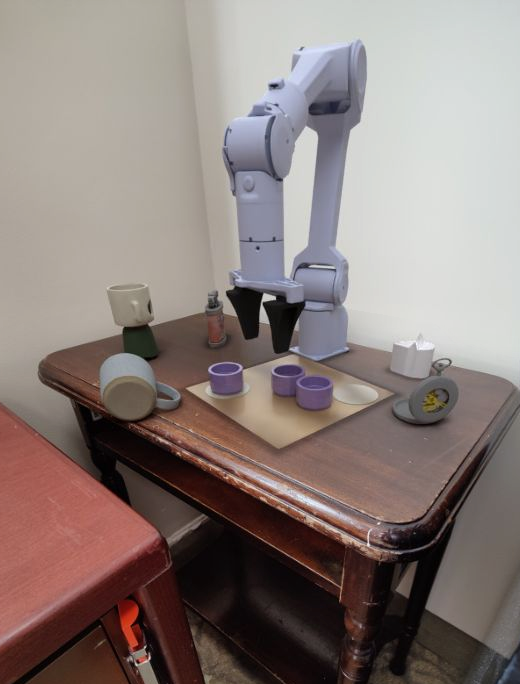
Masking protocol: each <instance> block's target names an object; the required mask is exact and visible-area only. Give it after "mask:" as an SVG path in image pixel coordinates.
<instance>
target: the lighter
mask: <svg viewBox="0 0 520 684" xmlns="http://www.w3.org/2000/svg"><path fill="white" fill-rule="evenodd" d="M218 298H219V291H218V289H212V291H211V292H208V293H207V303H206V305H205V306H204V313H205V314H206V321H207V329H208V338H209V339H208V346H209V347H210V348H212V349H213V348H218V347H219V348H220V347H221V346H224V345H225V344H226V342H227V334H226V330H225V313H224V301H223V300H218Z"/></svg>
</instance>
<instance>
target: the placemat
mask: <svg viewBox="0 0 520 684" xmlns="http://www.w3.org/2000/svg"><path fill="white" fill-rule="evenodd" d="M282 364H295V365H300V366H302V367H304V368H305V370H306V376H308V375H321V376H326V377H328V378H330V379H331V380H332V381H333V400H332V403H331V405H330V407H329V408H327V409H325V410H322V411H308V410H304V409H302V408H301V407H299V405H298V403H297V402H296V397H290V398H287V397H280V396H277V395H275V394H274V392H273V390H272V389H271V369H272V368H273V367H275V366H278V365H282ZM243 377H244V387H243V389H242V391H240V392H239V393H237V394H233V395H218V394H215V393H214V392H213V391H212V390H211V388H210V383H209V380H206V381H204V382H201V383H197V384H194V385H191V386H188V387H185V389H186V390H187V391H188V392H190V393H191V394H193V395H194V396H196V397H197V398H199V399H201V400H202V401H204V402H205V403H206V404H208V405H210V406H211V407H212V408H214V409H216V410H217V411H219V412H221V413H222V414H223V415H224V416H226V417H228V418H229V419H231V420H232V421H234V422H236V423H237V424H239V425H240V426H241V427H243V428H244V429H246V430H247V431H249V432H250V433H252V434H254V436H257V437H258V438H259V439H261V440H263V441H265V442H266V443H268V444H269V445H271V446H272V447H273V448H275V449H277V450H278V451H279V450H281V449H283V448H285V447H287V446H289V445H291V444H293V443H295V442H297V441H300V440H302V439H303V438H306V437H308V436H310V435H312V434H314V433H316V432H319V431H320V430H323V429H325V428H327V427H329V426H332V425H333V424H335V423H337V422H339V421H341V420H344V419H346V418H347V417H350V416H352V415H353V414H356V413H358V412H360V411H362V410H364V409H367V408H368V407H370V406H372V405H375V404H377V403H379V402H381V401H383V400H385V399H388V398H389V397H392V396H394V395H396V393H395V392H392V391H390V390H388V389H385V388H382V387H380V386H377V385H376V384H372V383H370V382H368V381H365V380H362V379H360V378H357V377H355V376H352V375H350V374H347V373H345V372H343V371H339V370H337V369H336V368H335V369H334V368H332V367H329V366H328V365H325V364H322V363H320V362H318V361H313V360H310V359H308V358H305V357H303V356H300V355H297V354H295V353H292V354H289V355H286V356H283V357H280V358H276V359H274V360H270V361H267V362H264V363H261V364H257V365H254V366H252V367H248V368H245V369H243Z"/></svg>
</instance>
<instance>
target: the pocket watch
mask: <svg viewBox="0 0 520 684" xmlns="http://www.w3.org/2000/svg"><path fill="white" fill-rule="evenodd" d="M440 361H448V362H449V363H448V364H447V365H445V366H444V364H443V363H442V362H440ZM438 362H440V363H438ZM436 363H438V365H437V366H435V364H436ZM452 364H453V360H452V359H451V358H448V357H443V358H438V359H436V360H435V361H433V362H432V364H431V368H432V369H434V370H435V371H436V374H434V375H429V376H428V377H426V378H423V380H420V382H419V383H418V384H417V385H416V386H415V387H414V388H413V390H412V391H411V392H410V393H411V394H410V395H409V398H402V399H400V400H397V401H396V402H394V403H393V405H392V412H393V414H394V416H396V417H397V418H398V419H400V420H402V421H404V422H407V423H411V424H415V425H429V424H432V423H433V424H434V423H435V422H438V421H439V420H442V419H444V418H445V417H447V416H448V415H450V413H451V412H452V411H453V409H455V406H456V405H457V402H458V400H459V396H460V395H459V392H460V391H459V387H458V385H457V383H456V381H455V380H453V378H452V377H450V376H449V375H445V374H442V372H444V371H445V369H446V368H448V367H450V366H451V365H452Z"/></svg>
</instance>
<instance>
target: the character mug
mask: <svg viewBox="0 0 520 684" xmlns="http://www.w3.org/2000/svg"><path fill="white" fill-rule="evenodd" d="M105 290H106V294H107V297H108V303H109V306H110V309H111V314H112V318H113V322H114V324H115V325H116V326H118V327H122V331H121V333H122V345H123V351H124V352H123V353H129V354H133V355H136V356H139V357H141V358H142V359H144V360H146V359H147V358H154V357H156V356H158V355H159V353H160V350H159V347H158V344H157V340H156V337H155V335H154V332H153V329H152V328H151V326H150V325H149V324H151V323H152V322H153V321H154V320H155V314H154V309H153V303H152V298H151V294H150V289H149V285H148V284H147V283H143V282H123V283H116V284H112V285H109V286H106V289H105Z"/></svg>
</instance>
